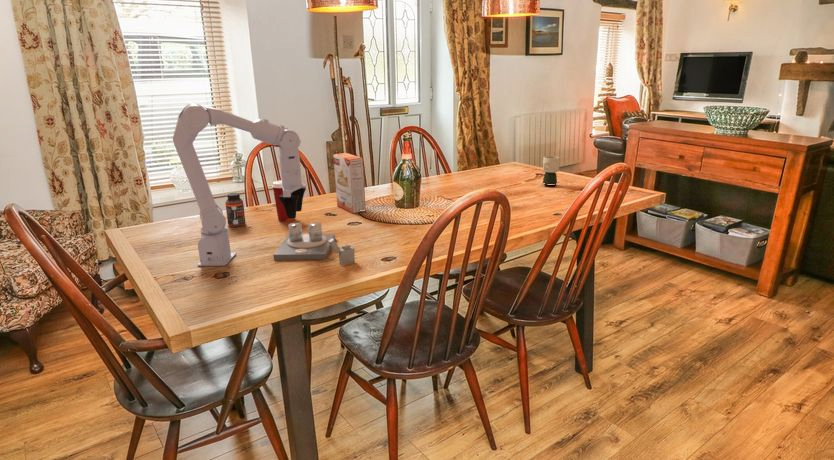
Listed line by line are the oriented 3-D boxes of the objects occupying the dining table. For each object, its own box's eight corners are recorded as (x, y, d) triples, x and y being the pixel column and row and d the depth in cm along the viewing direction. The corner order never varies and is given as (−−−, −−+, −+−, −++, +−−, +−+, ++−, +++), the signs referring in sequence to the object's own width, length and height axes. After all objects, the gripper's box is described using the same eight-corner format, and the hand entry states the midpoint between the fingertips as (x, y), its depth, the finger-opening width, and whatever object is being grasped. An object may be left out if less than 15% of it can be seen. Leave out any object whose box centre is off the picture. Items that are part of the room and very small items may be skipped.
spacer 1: (299, 242, 158) (298, 227, 157) (287, 242, 159) (285, 226, 157) (304, 238, 162) (303, 223, 160) (293, 237, 163) (291, 222, 161)
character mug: (549, 182, 239) (551, 154, 235) (563, 185, 234) (565, 156, 230) (535, 186, 232) (537, 157, 228) (549, 189, 227) (551, 159, 223)
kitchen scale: (325, 259, 150) (324, 252, 150) (273, 259, 151) (273, 252, 150) (335, 239, 168) (334, 232, 167) (288, 239, 168) (288, 233, 167)
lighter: (352, 260, 149) (350, 234, 147) (355, 262, 148) (353, 235, 145) (329, 266, 145) (327, 238, 143) (332, 267, 144) (330, 240, 142)
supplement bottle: (240, 227, 181) (236, 196, 177) (224, 227, 182) (220, 195, 179) (249, 222, 186) (245, 192, 183) (233, 222, 188) (229, 191, 184)
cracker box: (336, 206, 206) (332, 153, 199) (349, 204, 209) (346, 152, 203) (352, 214, 195) (348, 158, 188) (366, 211, 198) (363, 157, 191)
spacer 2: (320, 242, 158) (319, 226, 157) (307, 241, 159) (306, 226, 157) (324, 238, 162) (322, 222, 160) (311, 237, 162) (310, 222, 161)
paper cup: (298, 221, 188) (295, 183, 183) (276, 223, 185) (272, 185, 181) (295, 215, 195) (291, 178, 190) (274, 217, 192) (270, 180, 188)
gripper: (298, 175, 147) (302, 221, 151) (309, 165, 161) (312, 208, 165) (273, 175, 147) (278, 221, 151) (286, 165, 161) (290, 208, 165)
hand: (294, 214), depth 158 cm, fingers open, 7 cm apart
